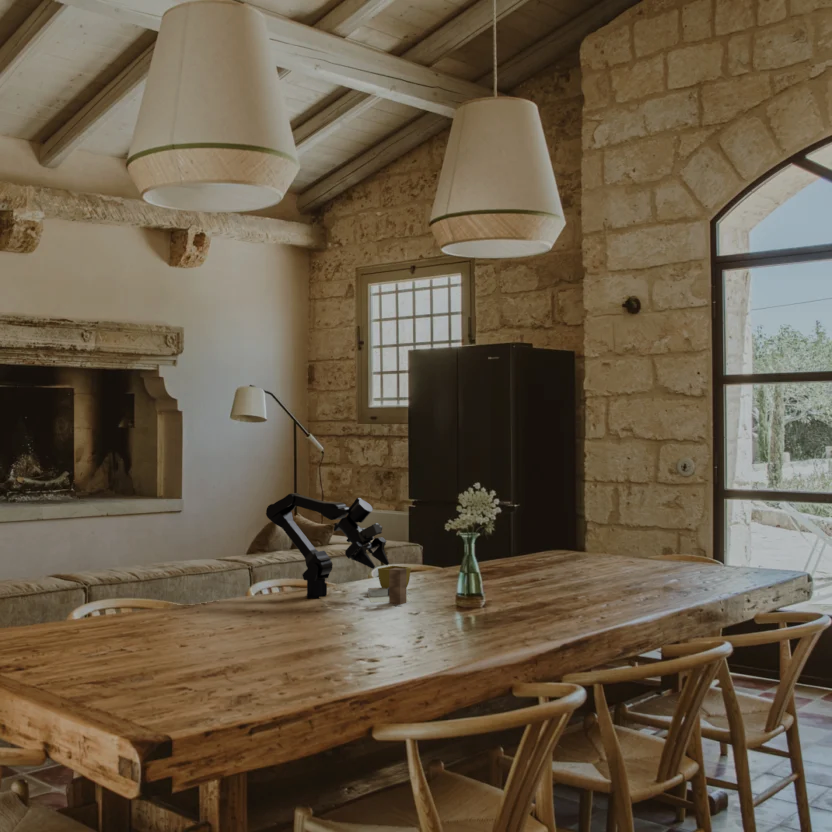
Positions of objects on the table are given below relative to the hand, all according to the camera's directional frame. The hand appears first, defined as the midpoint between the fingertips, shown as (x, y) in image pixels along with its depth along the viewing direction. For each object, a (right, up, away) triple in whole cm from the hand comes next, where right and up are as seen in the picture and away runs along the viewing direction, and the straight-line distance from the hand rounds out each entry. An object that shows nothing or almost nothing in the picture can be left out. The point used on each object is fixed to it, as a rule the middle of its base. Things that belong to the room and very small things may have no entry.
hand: (381, 566), depth 338 cm
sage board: (+3, -13, +7) cm, 15 cm away
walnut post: (+6, -13, -3) cm, 14 cm away
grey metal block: (-1, -12, +12) cm, 17 cm away
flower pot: (+4, -13, +22) cm, 26 cm away
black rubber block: (+4, -12, +13) cm, 18 cm away
